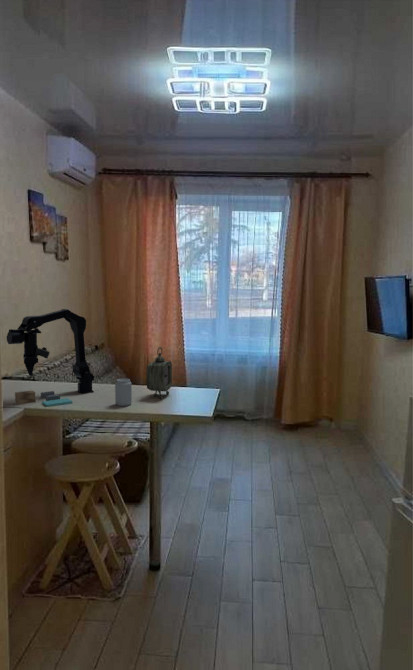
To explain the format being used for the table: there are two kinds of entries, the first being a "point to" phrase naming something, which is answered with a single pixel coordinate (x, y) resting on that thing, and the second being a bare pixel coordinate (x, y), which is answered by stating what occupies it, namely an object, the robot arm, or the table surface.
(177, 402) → the table surface
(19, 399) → the walnut block
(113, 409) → the table surface
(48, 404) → the pad
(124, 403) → the can
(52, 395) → the grey blocks
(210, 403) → the table surface
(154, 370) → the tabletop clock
